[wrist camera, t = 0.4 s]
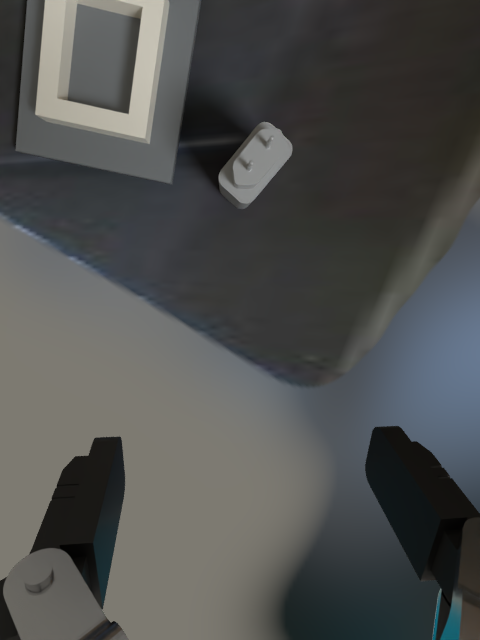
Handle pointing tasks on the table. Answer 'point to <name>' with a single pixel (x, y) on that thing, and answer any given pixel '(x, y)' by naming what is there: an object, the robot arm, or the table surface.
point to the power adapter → (254, 164)
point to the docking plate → (107, 83)
